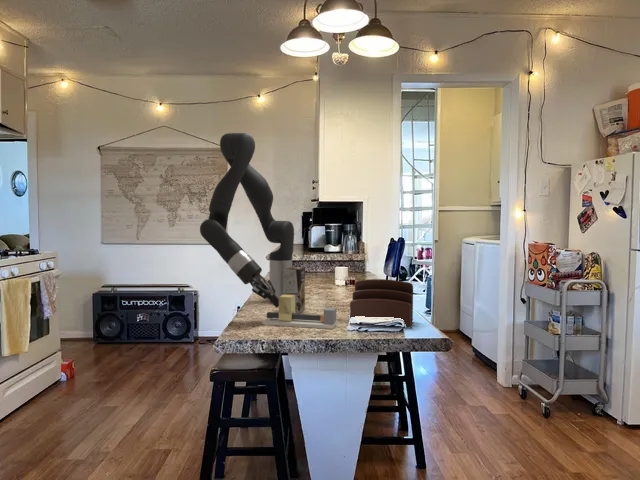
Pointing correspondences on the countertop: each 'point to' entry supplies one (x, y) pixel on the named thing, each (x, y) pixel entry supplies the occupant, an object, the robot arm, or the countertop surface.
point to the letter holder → (383, 299)
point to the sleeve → (286, 307)
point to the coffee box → (295, 286)
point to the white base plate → (305, 319)
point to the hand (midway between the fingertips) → (279, 305)
